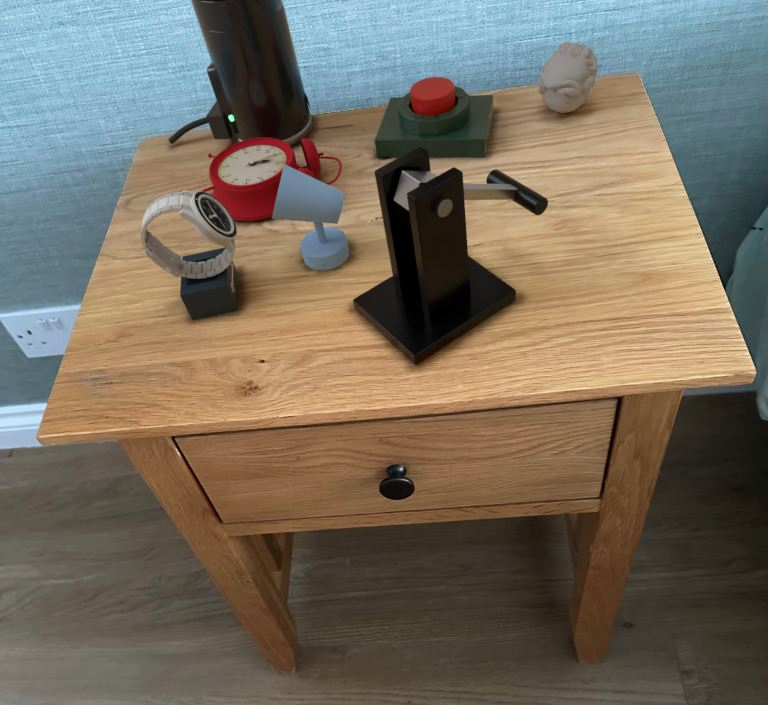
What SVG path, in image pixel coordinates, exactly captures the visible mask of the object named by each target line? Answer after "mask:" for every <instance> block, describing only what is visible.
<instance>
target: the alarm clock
mask: <svg viewBox="0 0 768 705" xmlns="http://www.w3.org/2000/svg"><path fill="white" fill-rule="evenodd" d="M300 145H301V150H302V153H303V156H304V161H305V164H306V165H304V166H299V164H298V162H297V156H296V154H295V152H294V150H293V149H292V146H289V145H288V144H287V143H286V142H284V141H282V140H279V139H275V138H267V137H263V138H253V139H248V140H244V141H241V142H238V143H235V144H233V145H232V144H231V145H229V146H228V147H225V148H224V149H223V150H221V151H220V152H218V153H217V154H216V155H213V154H212V153H207V154H208V155H207V157H208V158H209V159H211V158H212V160H211V162H210V164H209V167H208V176H209V180H210V183H211V186H209V187H206V188H204V189H202V190H200V191H203V192H206V193H208V192H210V191H212V190H213V192H212V194H211V195H212V196H213V197H215V198H216V199H217V200H218V201H220V202H221V203H222V204H223V205H224V207H225V208H226V209H227V210H228V212H229V213H230V214H231V216H232V218H233V220H234V221H245V222H246V221H247V222H249V221H250V222H251V221H259V220H264V219H268V218H272V216H273V211H274V207H275V202H276V198H277V193H278V189H279V185H280V180H281V176H282V171H283V167H284V164H285V165H287V166H289V167H291V168H294V169H296V170H298V171H300V172H302V173H304V174H306V175H308V176H310V177H313V178H315V179H316V178H317V177H319V176H320V175H321V172H322V164H321V160H334V161H335V162H338V166H339V167H338V172H337V175H336V176H335V177H334V178H333V179H332V180H330V181H327V182H326V183H325V182H324V183H325V184H327V185H330V186H331V185H333V184H334V183H335V182H337V180H338V179H339V178H340V176H341V174H342V170H343V167H342V166H343V164H342V162H341V159H339V158H338V157H335V156H324V154H325V153H324V151H321V152H318V149H317V147H316V144H315V143H314V141H312V140H311V139H310V138H307V137H305V138H304V139H301V140H300Z"/></svg>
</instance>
